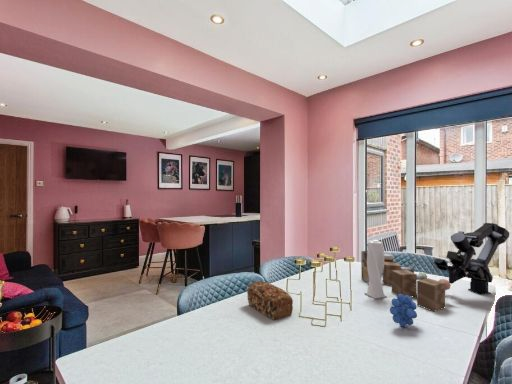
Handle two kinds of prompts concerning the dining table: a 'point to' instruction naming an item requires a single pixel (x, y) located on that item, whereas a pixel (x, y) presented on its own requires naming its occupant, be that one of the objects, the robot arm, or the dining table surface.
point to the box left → (389, 272)
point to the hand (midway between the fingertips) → (450, 282)
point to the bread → (270, 300)
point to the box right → (431, 294)
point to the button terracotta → (446, 283)
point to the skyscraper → (375, 269)
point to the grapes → (403, 310)
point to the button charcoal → (408, 268)
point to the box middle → (404, 282)
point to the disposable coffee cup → (388, 257)
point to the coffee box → (364, 266)
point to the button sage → (421, 276)
